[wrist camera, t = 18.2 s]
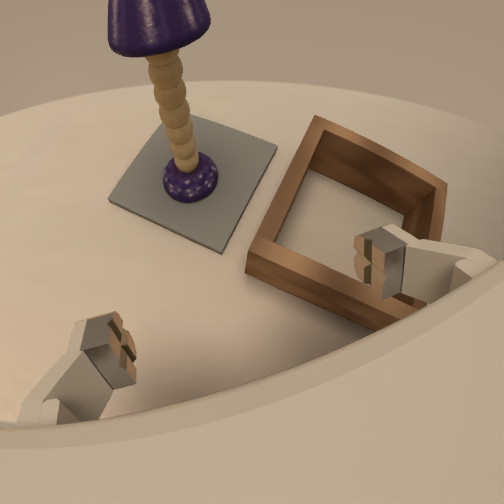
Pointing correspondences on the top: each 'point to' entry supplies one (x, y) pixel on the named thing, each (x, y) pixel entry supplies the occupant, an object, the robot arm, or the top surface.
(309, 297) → the walnut crate
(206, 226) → the slate mat
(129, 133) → the top surface
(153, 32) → the toy lamp
